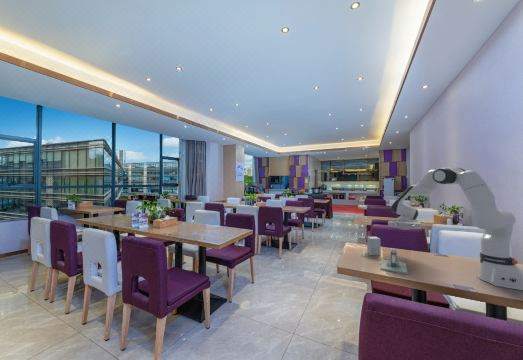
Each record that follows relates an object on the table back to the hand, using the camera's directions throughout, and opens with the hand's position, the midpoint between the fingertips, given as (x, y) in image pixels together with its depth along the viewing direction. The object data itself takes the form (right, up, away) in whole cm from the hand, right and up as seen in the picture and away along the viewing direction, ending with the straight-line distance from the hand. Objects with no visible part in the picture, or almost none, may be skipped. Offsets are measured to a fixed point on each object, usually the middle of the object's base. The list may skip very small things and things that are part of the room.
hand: (405, 226), depth 153 cm
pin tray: (-14, -24, -10) cm, 29 cm away
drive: (-14, -23, -10) cm, 29 cm away
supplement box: (-13, -25, +17) cm, 33 cm away
